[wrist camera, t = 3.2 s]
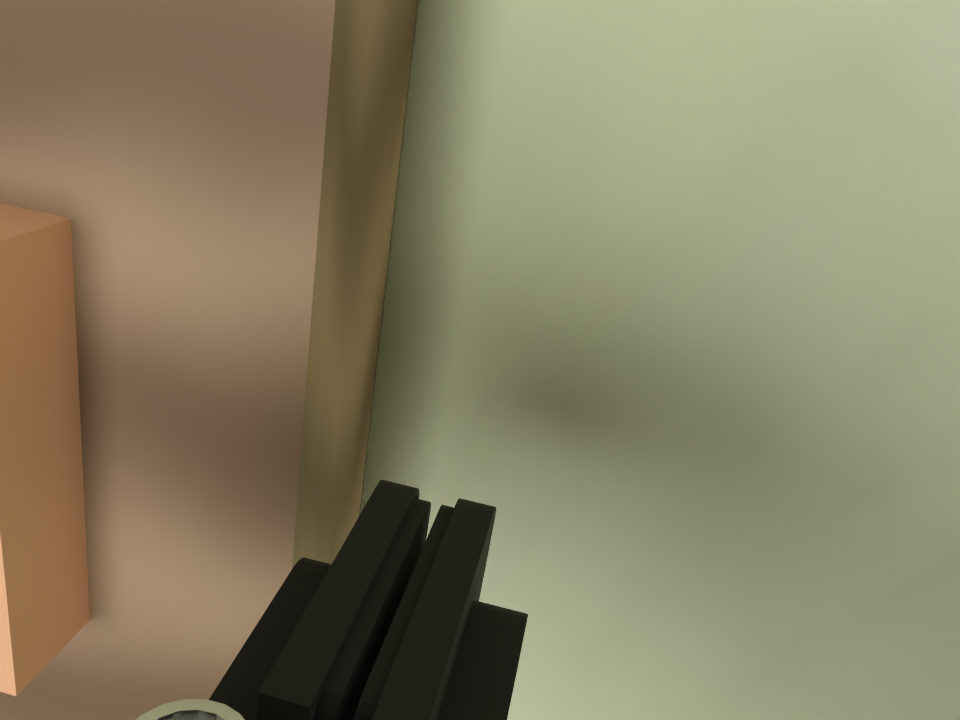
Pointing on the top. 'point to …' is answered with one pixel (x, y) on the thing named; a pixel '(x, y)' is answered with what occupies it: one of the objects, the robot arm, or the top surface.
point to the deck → (207, 305)
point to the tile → (39, 448)
